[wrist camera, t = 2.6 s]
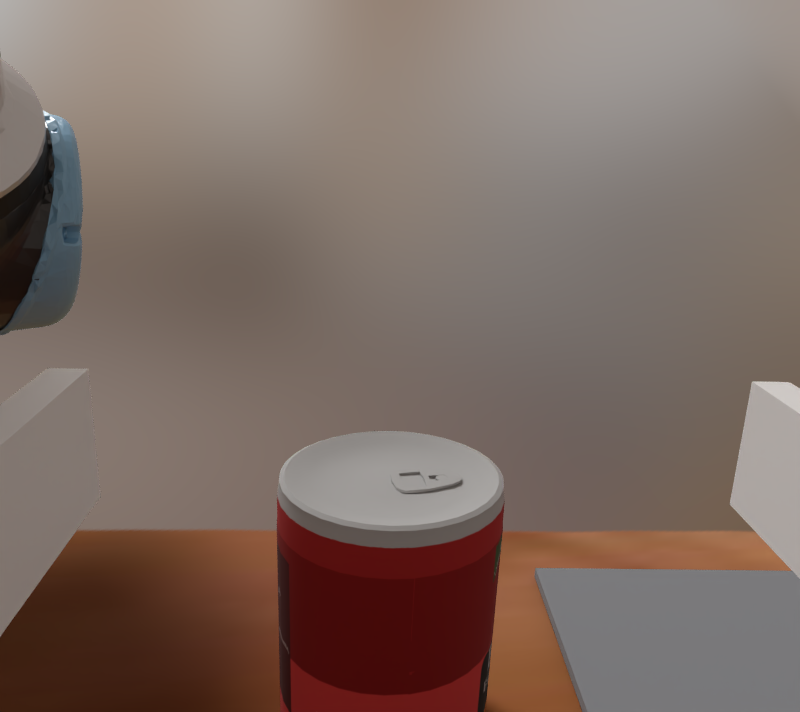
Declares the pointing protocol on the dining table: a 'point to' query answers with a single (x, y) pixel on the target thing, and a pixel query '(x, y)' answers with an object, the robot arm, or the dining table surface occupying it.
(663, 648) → the rubber mat
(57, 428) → the robot arm
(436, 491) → the canned food
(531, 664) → the dining table surface
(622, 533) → the dining table surface
